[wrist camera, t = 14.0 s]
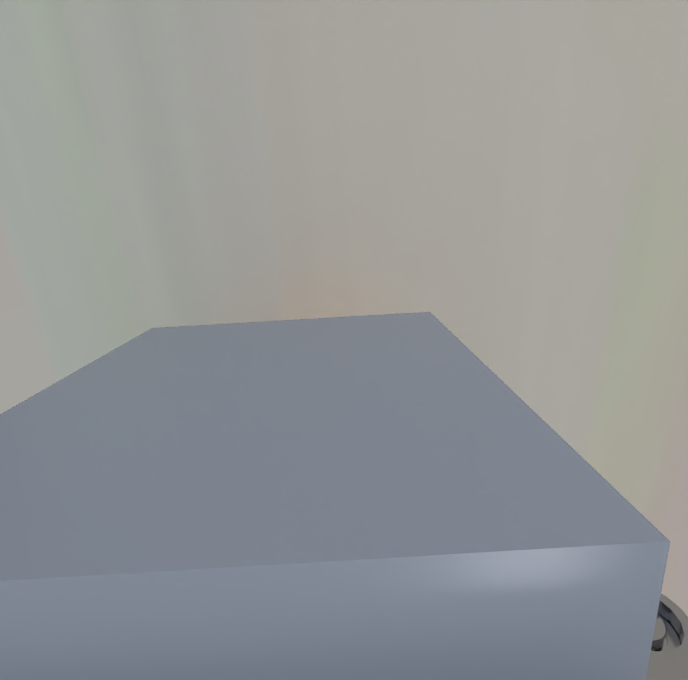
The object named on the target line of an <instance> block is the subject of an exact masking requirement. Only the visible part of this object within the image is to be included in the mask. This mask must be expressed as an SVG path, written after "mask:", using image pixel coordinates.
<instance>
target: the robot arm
mask: <svg viewBox="0 0 688 680" xmlns="http://www.w3.org/2000/svg"><path fill="white" fill-rule="evenodd" d="M646 680H688V617H687V616H686V614H685V613H684V612H683V611H682V609H680V608H679V607H678V606H677V605H676V604H675V603H673V602H672V601H671V600H670V599H669V598H667V597H666V596H664V595H663V594H661V596H660V601H659V607H658V613H657V619H656V624H655V630H654V636H653V641H652V647H651V653H650V658H649V664H648V670H647V675H646Z"/></svg>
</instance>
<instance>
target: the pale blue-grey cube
mask: <svg viewBox="0 0 688 680" xmlns="http://www.w3.org/2000/svg"><path fill="white" fill-rule="evenodd" d="M669 545H670V541H669V540H668V539H667V538H666V537H665V536H664V535H663V534H662V533H661V532H660V531H659V530H658V529H657V528H656V527H654V526H653V525H652V524H651V523H650V522H649V521H648V520H647V519H646V518H645V517H644V516H643V515H642V514H641V513H640V512H639V511H638V510H637V509H636V508H635V507H634V506H633V505H631V504H630V503H629V502H628V501H627V500H626V499H625V498H624V497H623V496H622V495H621V494H620V493H619V492H618V491H617V490H616V489H615V488H614V487H613V486H612V485H611V484H609V483H608V482H607V481H606V480H605V479H604V478H603V477H602V476H601V475H600V474H599V473H598V472H597V471H596V470H595V469H594V468H593V467H592V466H591V465H590V464H589V463H587V462H586V461H585V460H584V459H583V458H582V457H581V456H580V455H579V454H578V453H577V452H576V451H575V450H574V449H573V448H572V447H571V446H570V445H569V444H568V443H567V442H566V441H564V440H563V439H562V438H561V437H560V436H559V435H558V434H557V433H556V432H555V431H554V430H553V429H552V428H551V427H550V426H549V425H548V424H547V423H546V422H545V421H544V420H542V419H541V418H540V417H539V416H538V415H537V414H536V413H535V412H534V411H533V410H532V409H531V408H530V407H529V406H528V405H527V404H526V403H525V402H524V401H523V400H522V399H520V398H519V397H518V396H517V395H516V394H515V393H514V392H513V391H512V390H511V389H510V388H509V387H508V386H507V385H506V384H505V383H504V382H503V381H502V380H501V379H500V378H498V377H497V376H496V375H495V374H494V373H493V372H492V371H491V370H490V369H489V368H488V367H487V366H486V365H485V364H484V363H483V362H482V361H481V360H480V359H479V358H478V357H477V356H475V355H474V354H473V353H472V352H471V351H470V350H469V349H468V348H467V347H466V346H465V345H464V344H463V343H462V342H461V341H460V340H459V339H458V338H457V337H456V336H455V335H453V334H452V333H451V332H450V331H449V330H448V329H447V328H446V327H445V326H444V325H443V324H442V323H441V322H440V321H439V320H438V319H437V318H436V317H435V316H434V315H433V314H431V313H430V312H420V313H403V314H386V315H368V316H351V317H334V318H317V319H300V320H283V321H266V322H249V323H232V324H215V325H198V326H181V327H164V328H152V329H150V330H148V331H146V332H144V333H143V334H141V335H139V336H137V337H136V338H134V339H132V340H130V341H129V342H127V343H125V344H123V345H122V346H120V347H118V348H116V349H115V350H113V351H111V352H109V353H108V354H106V355H104V356H102V357H100V358H99V359H97V360H95V361H93V362H92V363H90V364H88V365H86V366H85V367H83V368H81V369H79V370H78V371H76V372H74V373H72V374H71V375H69V376H67V377H65V378H63V379H62V380H60V381H58V382H56V383H55V384H53V385H51V386H50V387H48V388H46V389H44V390H43V391H41V392H39V393H37V394H35V395H34V396H32V397H30V398H28V399H27V400H25V401H23V402H21V403H19V404H18V405H16V406H14V407H12V408H11V409H9V410H7V411H5V412H4V413H2V414H0V680H646V675H647V670H648V664H649V658H650V653H651V647H652V641H653V636H654V630H655V624H656V619H657V613H658V607H659V601H660V596H661V590H662V584H663V579H664V573H665V567H666V562H667V556H668V550H669Z"/></svg>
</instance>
